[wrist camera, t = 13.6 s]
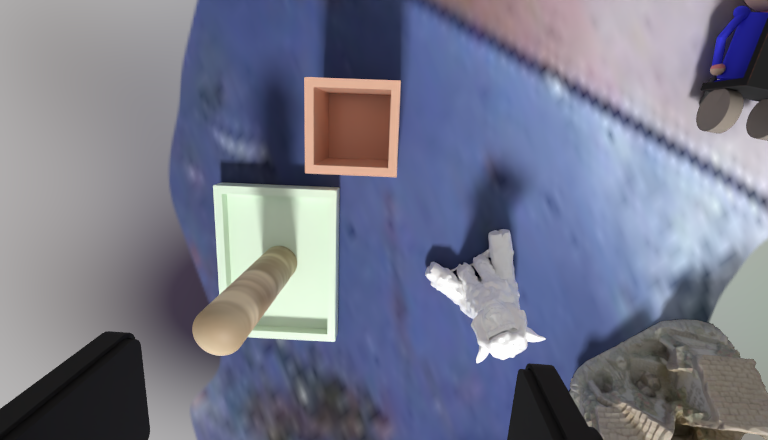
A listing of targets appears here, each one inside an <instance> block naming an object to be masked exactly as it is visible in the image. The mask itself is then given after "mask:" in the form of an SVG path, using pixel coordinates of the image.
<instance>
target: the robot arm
mask: <svg viewBox="0 0 768 440" xmlns="http://www.w3.org/2000/svg"><path fill="white" fill-rule="evenodd" d="M149 434H150V425H149V416H148V407H147V397H146V388H145V379H144V370H143V360H142V351H141V344H140V342H139V341H138V340H136V339H135V337H134V335H133V334H131V333H123V332H104V333H102V334H101V335H100V336H98V337H97V338H96V339H94V340H93V341H91V342H90V343H89V344H87V345H86V346H85V347H83V348H82V349H81V350H79V351H78V352H77V353H76V354H74V355H73V356H71V357H70V358H68V359H67V360H66V361H64V362H63V363H62V364H60V365H59V366H58V367H56V368H55V369H54V370H52V371H51V372H50V373H48V374H47V375H45V376H44V377H43V378H42V379H40V380H39V381H37V382H36V383H35V384H33V385H32V386H31V387H29V388H28V389H27V390H25V391H24V392H23V393H21V394H20V395H19V396H17V397H16V398H15V399H13V400H12V401H10V402H9V403H8V404H6V405H5V406H3V407H2V408H1V409H0V440H148V438H149ZM507 440H603V438H602V436H601V435H600V433H599V432H598V431H597V430H596V429H595V428H593V427H589V426H588V425H587V423H586V421H585V419H584V418H583V416H582V414H581V412H580V411H579V409H578V407H577V405H576V404H575V402H574V400H573V399H572V397H571V395H570V393H569V392H568V390H567V388H566V386H565V385H564V383H563V381H562V379H561V378H560V376H559V374H558V372H557V371H556V369H555V368H554V366H552V365H542V364H527V366H526V369H520V370H519V371H518V375H517V381H516V387H515V394H514V400H513V406H512V413H511V419H510V426H509V432H508V438H507Z"/></svg>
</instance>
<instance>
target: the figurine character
mask: <svg viewBox="0 0 768 440" xmlns="http://www.w3.org/2000/svg"><path fill="white" fill-rule="evenodd" d="M744 1H745V2H746V4H747V5H748V6H749V7H750V8H751V9H753V10H755V11H758V12H751V10H750V9H749V8H748V7H747V6H738V7H736V8H735V9H734V11H733V16H734V18H733V19H732V20H731V21H730V23H729V24H728V25H727V26H726V27H725V28H724V30H723V31H722V32H721V33H720V34H719V35H718V37H717V39H716V44H715V50H714V56H713V61H712V67H711V68H710V73H711V74H712V75H714V76H713V77H712V78H711V79H710V80H709V82H708V83H703V85H702V88H701V90H703V91H705V93H704V95H703V98H702V100H701V103H700V107H699V109H698V112H697V117H696V122H697V126H698V128H699V129H700V130H702V131H707V132H712V133H723V132H725V131H727V130H728V129H730V128H731V127H732V126H733V125H734V124H735V122H736V121H737V120H738V118H739V116H740V114H741V112H742V109H743V100H744V99H749V100H754V101H759V103H757V104H756V106H755V107H754V108H753V109H752V111H751V113H750V114H749V117H748V119H747V124H746V128H747V132H748V134H749V135H750V136H751V137H753V138H756V139H761V140H767V141H768V0H744ZM736 27H737V28H736ZM735 28H736V31H735V33H734V36H733V38H732V41H731V43H730V46H729V48H728V51H727V53H726V55H725V58H724V60H723V55H724V50H725V44H726V39H727V38H728V37H729V35H730V34H731V33H732V32H733V31H734V30H735ZM722 60H723V63H722ZM717 79H720V80H717Z"/></svg>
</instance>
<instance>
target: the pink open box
mask: <svg viewBox="0 0 768 440" xmlns="http://www.w3.org/2000/svg"><path fill="white" fill-rule="evenodd" d="M304 89H305V173H308V174H332V175H356V176H380V177H397V160H398V137H399V115H400V92H401V80H372V79H344V78H316V77H304Z"/></svg>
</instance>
